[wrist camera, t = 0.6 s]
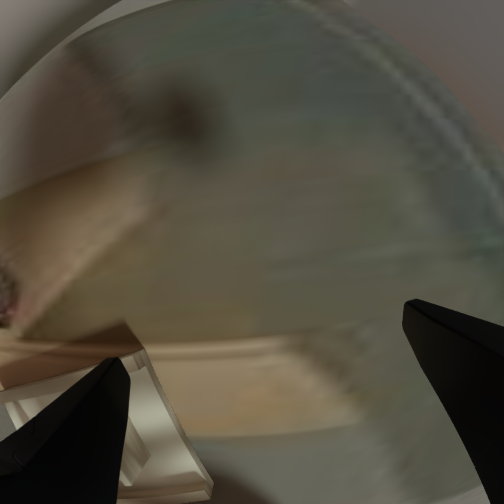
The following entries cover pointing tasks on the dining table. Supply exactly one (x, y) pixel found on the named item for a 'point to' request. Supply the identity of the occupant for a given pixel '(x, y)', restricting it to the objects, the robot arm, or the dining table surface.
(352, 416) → the dining table surface
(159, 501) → the dish rack
